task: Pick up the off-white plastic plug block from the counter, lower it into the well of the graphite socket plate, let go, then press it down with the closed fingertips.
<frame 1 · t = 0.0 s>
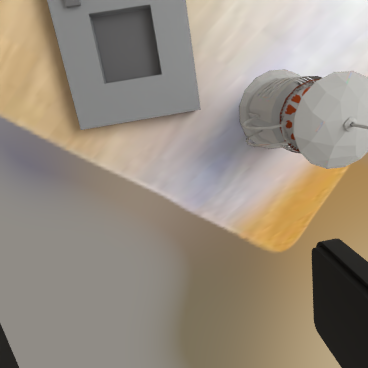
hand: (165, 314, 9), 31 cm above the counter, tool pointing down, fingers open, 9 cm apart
socket plate: (127, 47, 35), on the counter
french press: (269, 112, 39), on the counter
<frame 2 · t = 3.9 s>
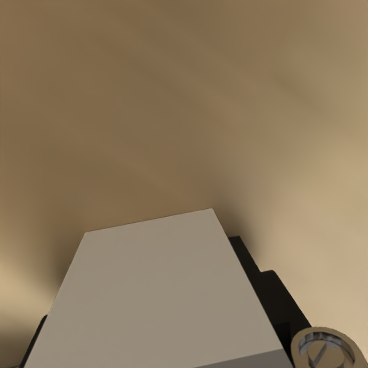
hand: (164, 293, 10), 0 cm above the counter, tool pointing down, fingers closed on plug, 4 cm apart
plug: (163, 287, 10), on the counter, touching gripper
when the fingers open (2 cm above the counter, at t = 7.9 s): plug drops 1 cm, resting on socket plate.
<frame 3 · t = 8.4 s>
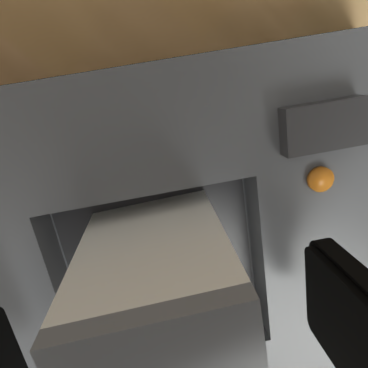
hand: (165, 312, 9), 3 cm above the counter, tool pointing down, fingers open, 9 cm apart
plug: (163, 261, 12), point 1 cm above the counter, touching socket plate
socket plate: (161, 255, 12), on the counter
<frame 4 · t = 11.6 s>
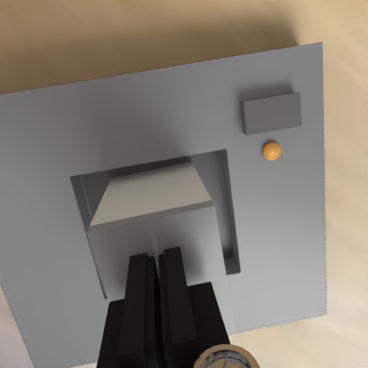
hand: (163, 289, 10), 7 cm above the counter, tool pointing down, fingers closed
plug: (161, 215, 16), point 1 cm above the counter, touching gripper, socket plate
socket plate: (160, 212, 17), on the counter
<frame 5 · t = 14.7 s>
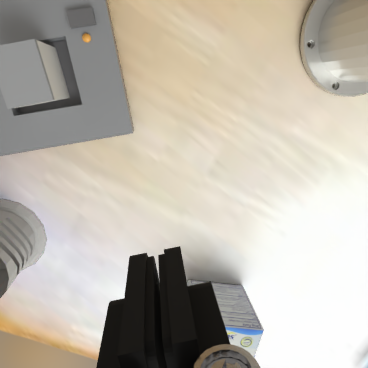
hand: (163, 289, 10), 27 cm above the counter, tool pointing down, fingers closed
medicine box: (212, 293, 43), on the counter
plug: (43, 77, 32), point 1 cm above the counter, touching socket plate
socket plate: (45, 77, 33), on the counter
french press: (1, 229, 37), on the counter
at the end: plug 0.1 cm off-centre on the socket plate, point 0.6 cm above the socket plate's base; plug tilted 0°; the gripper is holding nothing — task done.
